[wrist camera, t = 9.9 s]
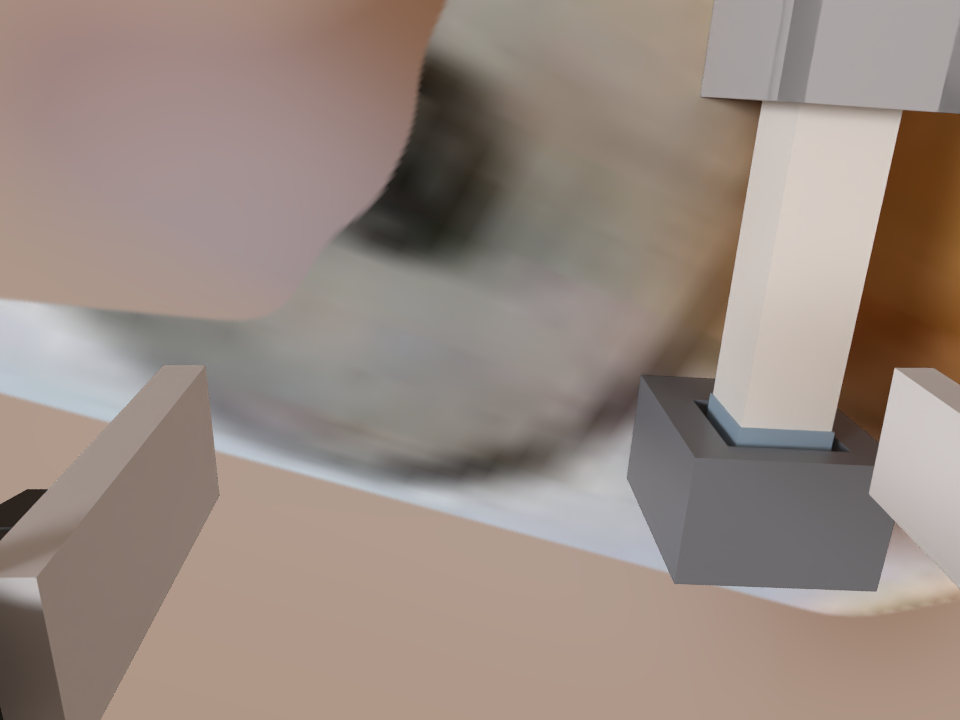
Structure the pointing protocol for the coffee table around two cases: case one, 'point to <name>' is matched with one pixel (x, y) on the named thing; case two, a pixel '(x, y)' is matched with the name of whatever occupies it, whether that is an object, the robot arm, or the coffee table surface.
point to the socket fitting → (753, 499)
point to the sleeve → (837, 53)
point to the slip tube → (800, 272)
